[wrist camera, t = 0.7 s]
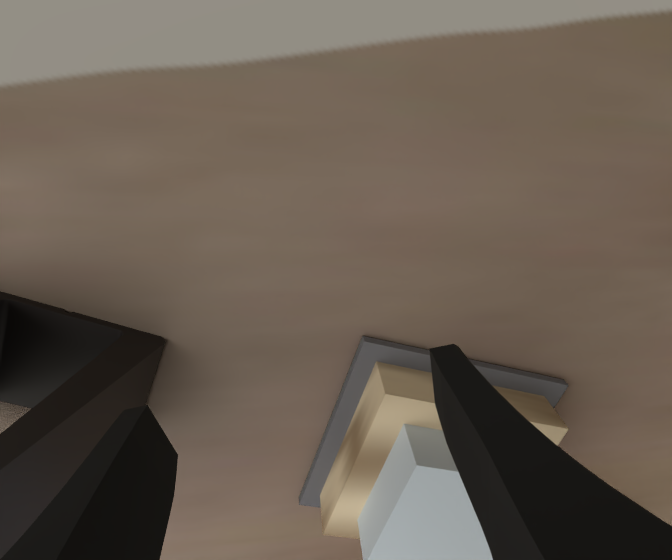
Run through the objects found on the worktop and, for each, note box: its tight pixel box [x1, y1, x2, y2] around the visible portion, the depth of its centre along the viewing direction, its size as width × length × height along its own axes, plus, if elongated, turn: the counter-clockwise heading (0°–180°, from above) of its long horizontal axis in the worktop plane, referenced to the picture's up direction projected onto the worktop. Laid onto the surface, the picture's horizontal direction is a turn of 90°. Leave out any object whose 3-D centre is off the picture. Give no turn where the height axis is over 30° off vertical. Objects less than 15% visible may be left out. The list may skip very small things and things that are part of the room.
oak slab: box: [320, 361, 568, 539], centre depth 25 cm, size 10×10×2 cm
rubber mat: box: [299, 336, 568, 508], centre depth 27 cm, size 12×12×1 cm
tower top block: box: [357, 424, 493, 560], centre depth 23 cm, size 7×7×2 cm
